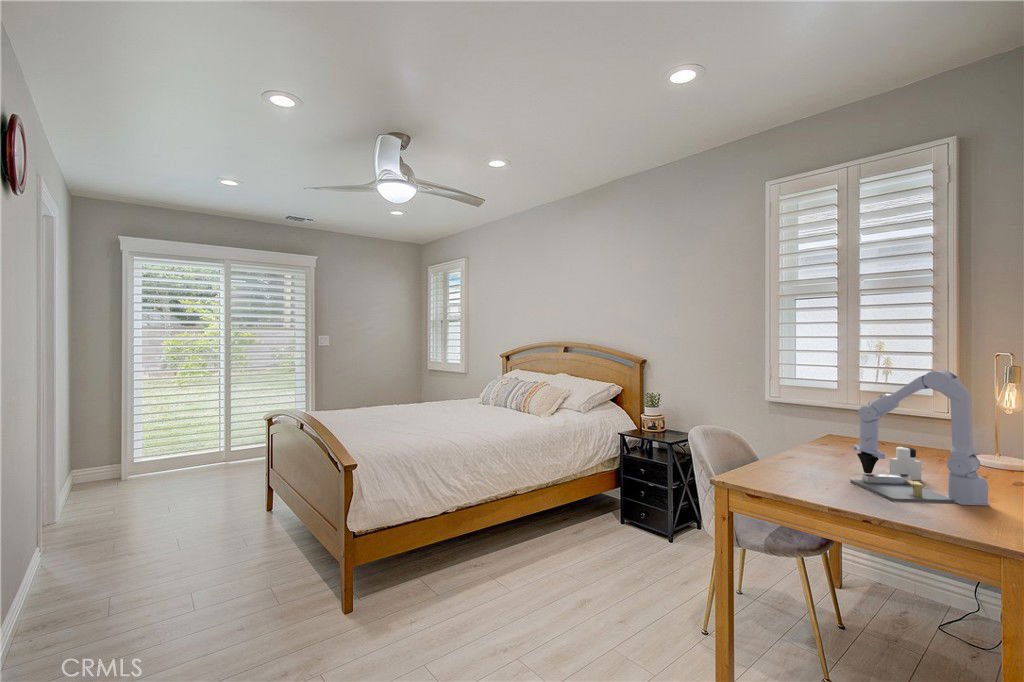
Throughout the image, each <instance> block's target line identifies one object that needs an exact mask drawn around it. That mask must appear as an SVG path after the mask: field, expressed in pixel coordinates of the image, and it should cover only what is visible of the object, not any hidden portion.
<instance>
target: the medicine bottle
mask: <svg viewBox="0 0 1024 682" xmlns="http://www.w3.org/2000/svg"><path fill="white" fill-rule="evenodd" d="M922 464H923V463H922V461H921V460H917V449H915V448H914V447H911V446H910V447H909V446H902V445H901V446H897V447H896V448H895V457H891V458H890V459H889V475H900V473H907V474H908V476H910V477H911V481H921V480H922V468H923V467H922Z"/></svg>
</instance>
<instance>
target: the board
mask: <svg viewBox="0 0 1024 682" xmlns="http://www.w3.org/2000/svg"><path fill="white" fill-rule="evenodd" d="M900 475H902V476H908V474H907V473H900ZM849 480H850V483H851V484H853V483H854V485H855V484H856V486H858V487H860V486H861V487H860V488H862V487H863V488H862V489H864V488H865V489H864V490H866V491H869V492H872V493H873V494H875V493H876V495H878V496H880V497H882V498H884V499H887V500H888V501H892V502H899V503H900V502H901V503H902V502H905V503H907V502H908V503H909V502H910V503H911V502H912V503H949V504H950V503H951V504H953V503H955V502H954V499H951V498H948V497H946V496H947V495H943V494H940V493H938V492H935V491H933V490H931V489H927V488H922V498H921V497H914V496H913V487H911V486H910V485H909V484H889V483H867V482H865V481H862V479H849Z"/></svg>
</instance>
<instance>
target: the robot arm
mask: <svg viewBox="0 0 1024 682" xmlns="http://www.w3.org/2000/svg"><path fill="white" fill-rule="evenodd" d="M927 389H928V390H929V389H930V390H933V391H935V392H939V393H941V394H942V395H944V396H945V397H947V398H949V401H950V421H951V422H950V424H951V443H952V444H951V445H952V446H951V448H950V451H949V455H950V456H949V459H948V460H947V462H946V467H947V469H948V470H949V471H948V490H947V491H948V493H947V495H945V496H946V497H948V498H951V499H954V503H956V504H958V505H960V506H961V505H962V506H990V505H991V504H990V503H989V484H988V482H987V480H986V479H985V478H984V477H983V476H981V475H979V474H978V473H977V471H978V470H979V469H980V467H981V461H980V460H979V458H978V456H977V453H976V450H975V448H974V443H973V425H972V423H973V421H972V406H971V405H972V403H971V400H972V398H971V392H970V390H968V388H967V387H966V386H965V385H964V384H963V382H961V379H960V378H959V376H958V375H956V374H954V373H953V372H950V371H948V370H943V369H942V370H933V371H928V372H927V373H926V374H923V375H920V376H918V377H917V378H915V379H913V380H912V381H910V382H909V383H907V384H906V385H904V386H903V387H901V388H899V389H898V390H897V391H895V392H893V393H885V394H880V395H879V396H878V397H879V398H876V399H874V400H873V401H868V403H867V405H863V406H861V407H860V408H858V411H857V416H858V418H859V419H860V420H859V443H858V444H853V445H852V450H854V451H859V452H860V453H858V452H857V454H856V455H857V457H858V458H859V461H860V463H861V467H862V470H863V474H873V471H874V468H875V466H876V464H877V462H878V461H879V460H885V459H886V453H885V452H882V451H880V450H879V421H880V419H881V418H882V416H885V415H887V414H888V413H889V412H891V411H893V410H895V409H897V408H898V407H900V403H901V401H903V400H905V399H906V398H908V397H910V396H912V395H914V394H915V393H917V392H919V391H922V390H927Z"/></svg>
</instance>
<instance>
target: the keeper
mask: <svg viewBox="0 0 1024 682" xmlns="http://www.w3.org/2000/svg"><path fill="white" fill-rule="evenodd" d="M907 483H908V484H909V485H910V486H911V487H913V496H914V497H921V498H922V488H924V485H923V484H922V483H921V482H920V481H918V480H914V481H908V480H907Z"/></svg>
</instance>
